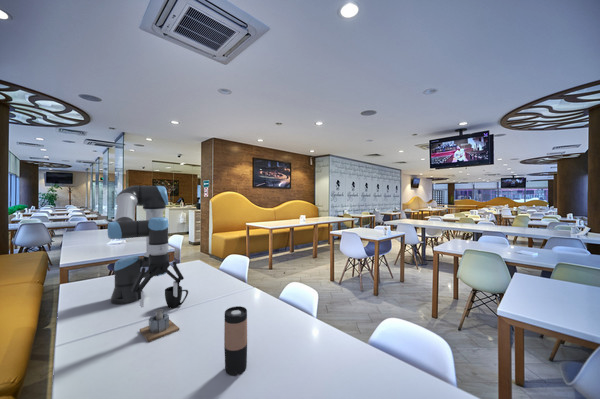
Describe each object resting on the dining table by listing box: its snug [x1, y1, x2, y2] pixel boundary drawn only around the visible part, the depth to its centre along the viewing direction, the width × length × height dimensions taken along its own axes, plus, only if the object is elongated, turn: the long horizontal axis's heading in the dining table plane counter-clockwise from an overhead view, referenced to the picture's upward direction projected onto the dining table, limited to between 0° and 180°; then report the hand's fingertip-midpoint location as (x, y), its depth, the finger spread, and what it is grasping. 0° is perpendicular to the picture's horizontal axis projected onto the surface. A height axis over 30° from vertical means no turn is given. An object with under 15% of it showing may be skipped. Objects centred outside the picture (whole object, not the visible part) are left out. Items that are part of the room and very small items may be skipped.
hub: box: [148, 313, 170, 333], centre depth 109 cm, size 7×7×5 cm
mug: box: [164, 285, 189, 309], centre depth 133 cm, size 8×12×10 cm
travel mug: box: [223, 305, 248, 377], centre depth 86 cm, size 8×8×20 cm
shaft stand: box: [139, 308, 180, 343], centre depth 109 cm, size 12×12×9 cm
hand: (159, 301), depth 109 cm, fingers open, 13 cm apart
